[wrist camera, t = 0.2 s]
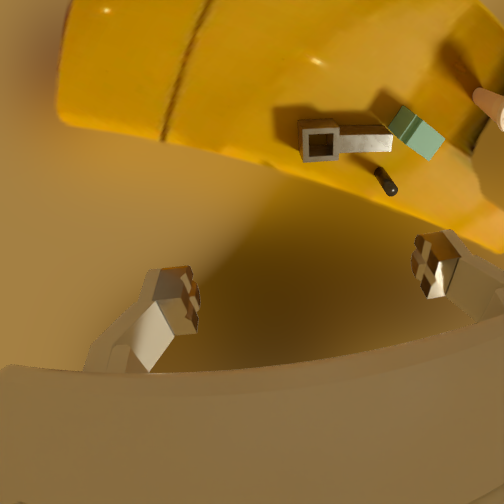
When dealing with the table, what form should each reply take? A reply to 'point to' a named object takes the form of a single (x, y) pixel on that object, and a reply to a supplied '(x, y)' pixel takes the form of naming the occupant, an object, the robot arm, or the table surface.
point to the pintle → (386, 182)
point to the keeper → (416, 133)
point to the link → (341, 139)
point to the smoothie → (490, 105)
